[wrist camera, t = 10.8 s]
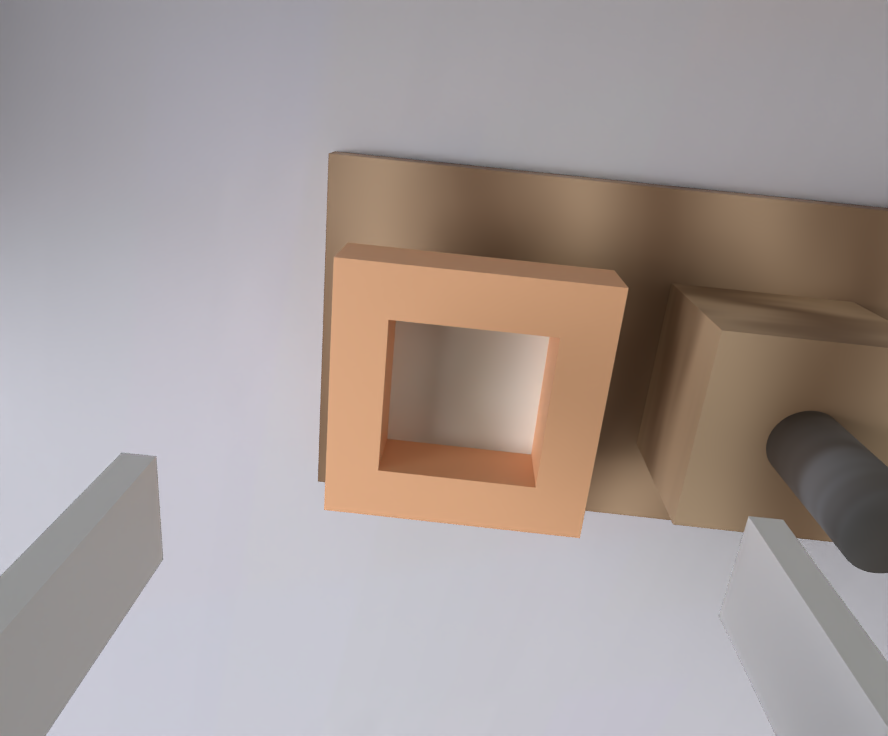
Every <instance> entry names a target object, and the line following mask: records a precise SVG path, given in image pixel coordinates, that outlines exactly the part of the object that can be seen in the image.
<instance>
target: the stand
mask: <svg viewBox="0 0 888 736" xmlns="http://www.w3.org/2000/svg"><path fill="white" fill-rule="evenodd" d="M347 243H357V244H367V245H376V246H386V247H396V248H405V249H415V250H424V251H434V252H443V253H453V254H463V255H472V256H482V257H491V258H501V259H510V260H520V261H530V262H539V263H549V264H558V265H568V266H578V267H587V268H597V269H606V270H615V272H616V273H617V274H618V275H619V277H620V278H621V279H622V280H623V282H624V283H625V284H626V285H627V287H628V288H629V289H628V294H627V299H626V304H625V309H624V314H623V319H622V324H621V329H620V335H619V340H618V345H617V350H616V355H615V360H614V365H613V370H612V375H611V381H610V386H609V391H608V396H607V401H606V406H605V411H604V416H603V421H602V427H601V432H600V437H599V442H598V447H597V452H596V457H595V462H594V468H593V473H592V478H591V483H590V488H589V493H588V498H587V503H586V508H585V511H593V512H602V513H611V514H620V515H629V516H638V517H648V518H657V519H666V520H671V521H672V523H673V524H674V525H683V526H692V527H701V528H710V529H719V530H728V531H738V532H744V530H745V526H746V523H747V520H748V516H752V517H761V518H771V519H781V520H784V522H785V523H786V524H787V526H788V527H789V528H790V530H791V531H792V532H793V534H794V535H795V537H796V538H801V539H810V540H819V541H829V542H834V544H835V545H836V546H837V547H838V549H839V550H840V551H841V552H842V554H843V555H844V556H845V557H846V559H847V560H848V561H849V562H850V563H851V564H852V565H854V566H855V567H857V568H859V569H861V570H864V571H867V572H873V573H888V208H882V207H872V206H862V205H852V204H843V203H833V202H823V201H813V200H804V199H794V198H784V197H774V196H765V195H755V194H745V193H735V192H725V191H716V190H706V189H696V188H686V187H677V186H667V185H657V184H647V183H638V182H628V181H618V180H608V179H599V178H589V177H579V176H569V175H560V174H550V173H540V172H530V171H521V170H511V169H501V168H491V167H482V166H472V165H462V164H452V163H443V162H433V161H423V160H413V159H404V158H394V157H384V156H374V155H365V154H355V153H345V152H332V153H329V160H328V191H327V221H326V252H325V282H324V313H323V343H322V374H321V404H320V434H319V465H318V481H320V482H325V477H326V450H327V423H328V396H329V370H330V343H331V316H332V289H333V262H334V256H335V255H336V254H337V253H338V252H339V251H340V250H341V249H342V248H343V247H344V246H345V245H346V244H347ZM548 344H549V337H546V336H537V335H527V334H518V333H509V332H499V331H490V330H480V329H471V328H461V327H452V326H443V325H433V324H424V323H414V322H405V321H396V325H395V339H394V352H393V366H392V380H391V394H390V408H389V421H388V435H387V439H393V440H403V441H412V442H421V443H430V444H439V445H449V446H458V447H467V448H476V449H485V450H495V451H504V452H513V453H522V454H531V452H532V445H533V439H534V433H535V426H536V420H537V414H538V407H539V401H540V395H541V388H542V382H543V376H544V369H545V363H546V356H547V350H548Z"/></svg>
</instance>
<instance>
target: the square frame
mask: <svg viewBox="0 0 888 736" xmlns="http://www.w3.org/2000/svg"><path fill="white" fill-rule="evenodd" d="M628 289H629V288H628V287H627V285H626V284H625V283H624V282H623V280H622V279H621V278H620V277H619V275H618V274H617V273H616V272H615V270H606V269H597V268H587V267H578V266H568V265H558V264H549V263H539V262H530V261H520V260H510V259H501V258H491V257H482V256H472V255H463V254H453V253H443V252H434V251H424V250H415V249H405V248H396V247H386V246H376V245H367V244H357V243H347V244H346V245H345V246H344V247H343V248H342V249H341V250H340V251H339V252H338V253H337V254H336V255H335V256H334V262H333V289H332V316H331V343H330V370H329V396H328V423H327V450H326V477H325V504H324V510H331V511H340V512H349V513H358V514H367V515H376V516H385V517H394V518H403V519H412V520H421V521H430V522H439V523H448V524H458V525H467V526H476V527H485V528H494V529H503V530H512V531H521V532H530V533H539V534H548V535H557V536H566V537H575V538H580V534H581V529H582V524H583V519H584V514H585V508H586V503H587V498H588V493H589V488H590V483H591V478H592V473H593V468H594V462H595V457H596V452H597V447H598V442H599V437H600V432H601V427H602V421H603V416H604V411H605V406H606V401H607V396H608V391H609V386H610V381H611V375H612V370H613V365H614V360H615V355H616V350H617V345H618V340H619V335H620V329H621V324H622V319H623V314H624V309H625V304H626V299H627V294H628ZM396 321H405V322H414V323H424V324H433V325H443V326H452V327H461V328H471V329H480V330H490V331H499V332H509V333H518V334H527V335H537V336H546V337H549V344H548V350H547V356H546V363H545V369H544V376H543V382H542V388H541V395H540V401H539V407H538V414H537V420H536V426H535V433H534V439H533V445H532V452H531V454H522V453H513V452H504V451H495V450H485V449H476V448H467V447H458V446H449V445H439V444H430V443H421V442H412V441H403V440H393V439H387V435H388V421H389V408H390V394H391V380H392V366H393V352H394V339H395V325H396Z"/></svg>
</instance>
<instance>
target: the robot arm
mask: <svg viewBox="0 0 888 736" xmlns="http://www.w3.org/2000/svg"><path fill="white" fill-rule="evenodd" d="M162 560H163V549H162V534H161V519H160V505H159V490H158V475H157V460H156V456H149V455H139V454H129V453H121V454H120V455H119V456H118V457H117V458H116V459H115V460H114V461H113V462H112V463H111V464H110V465H109V466H108V467H107V468H106V469H105V470H104V471H103V472H102V473H101V474H100V475H99V476H98V477H97V478H96V479H95V480H94V481H93V482H92V483H91V484H90V485H89V487H88V488H87V489H86V490H85V491H84V492H83V493H82V494H81V495H80V496H79V497H78V498H77V499H76V500H75V501H74V502H73V503H72V504H71V505H70V506H69V507H68V508H67V509H66V510H65V511H64V512H63V513H62V514H61V515H60V516H59V517H58V518H57V519H56V520H55V521H54V522H53V523H52V524H51V525H50V526H49V527H48V528H47V529H46V530H45V531H44V532H43V533H42V534H41V535H40V536H39V537H38V538H37V539H36V540H35V541H34V542H33V544H32V545H31V546H30V547H29V548H28V549H27V550H26V551H25V552H24V553H23V554H22V555H21V556H20V557H19V558H18V559H17V560H16V561H15V562H14V563H13V564H12V565H11V566H10V567H9V568H8V569H7V570H6V571H5V572H4V573H3V574H2V575H1V576H0V736H46V734H47V733H48V731H49V730H50V728H51V727H52V725H53V724H54V722H55V721H56V719H57V718H58V716H59V715H60V713H61V712H62V710H63V709H64V707H65V706H66V704H67V703H68V701H69V700H70V698H71V697H72V695H73V694H74V692H75V691H76V689H77V688H78V686H79V685H80V683H81V682H82V680H83V679H84V677H85V676H86V674H87V673H88V671H89V670H90V668H91V667H92V665H93V664H94V662H95V661H96V659H97V658H98V656H99V655H100V653H101V652H102V650H103V649H104V647H105V646H106V644H107V643H108V641H109V640H110V638H111V637H112V635H113V634H114V632H115V631H116V629H117V628H118V626H119V625H120V623H121V622H122V620H123V619H124V617H125V616H126V614H127V613H128V611H129V610H130V608H131V607H132V605H133V604H134V602H135V601H136V599H137V598H138V596H139V595H140V593H141V592H142V590H143V589H144V587H145V586H146V584H147V583H148V581H149V580H150V578H151V577H152V575H153V574H154V572H155V571H156V569H157V568H158V566H159V565H160V563H161V562H162ZM719 617H720V620H721V622H722V624H723V626H724V628H725V630H726V632H727V634H728V636H729V638H730V641H731V643H732V645H733V647H734V649H735V651H736V653H737V655H738V657H739V659H740V662H741V664H742V666H743V668H744V670H745V672H746V674H747V676H748V678H749V681H750V683H751V685H752V687H753V689H754V691H755V693H756V695H757V697H758V699H759V702H760V704H761V706H762V708H763V710H764V712H765V714H766V716H767V718H768V720H769V723H770V725H771V727H772V729H773V731H774V733H775V735H776V736H888V662H887V660H886V659H885V658H884V656H883V655H882V654H881V652H880V651H879V649H878V648H877V647H876V645H875V644H874V643H873V641H872V640H871V639H870V637H869V636H868V634H867V633H866V632H865V630H864V629H863V628H862V626H861V625H860V624H859V622H858V621H857V620H856V618H855V617H854V615H853V614H852V613H851V611H850V610H849V609H848V607H847V606H846V605H845V603H844V602H843V600H842V599H841V598H840V596H839V595H838V594H837V592H836V591H835V590H834V588H833V587H832V586H831V584H830V583H829V581H828V580H827V579H826V577H825V576H824V575H823V573H822V572H821V571H820V569H819V568H818V566H817V565H816V564H815V562H814V561H813V560H812V558H811V557H810V556H809V554H808V553H807V552H806V550H805V549H804V547H803V546H802V545H801V543H800V542H799V541H798V539H797V538H796V537H795V535H794V534H793V532H792V531H791V530H790V528H789V527H788V526H787V524H786V523H785V522H784V520H781V519H771V518H761V517H752V516H748V520H747V523H746V526H745V530H744V533H743V536H742V540H741V543H740V546H739V549H738V553H737V556H736V559H735V563H734V566H733V569H732V573H731V576H730V579H729V583H728V586H727V589H726V593H725V596H724V599H723V603H722V606H721V609H720V613H719Z"/></svg>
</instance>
